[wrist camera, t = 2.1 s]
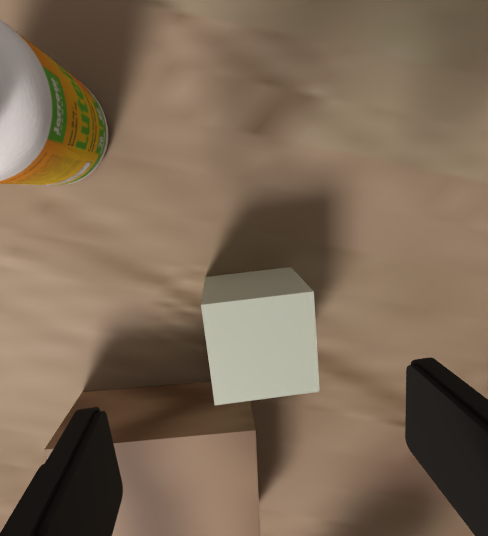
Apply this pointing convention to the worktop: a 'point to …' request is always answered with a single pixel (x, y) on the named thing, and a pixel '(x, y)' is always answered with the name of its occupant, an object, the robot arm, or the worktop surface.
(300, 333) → the sage block
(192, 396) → the walnut block
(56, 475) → the robot arm
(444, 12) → the worktop surface
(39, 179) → the supplement bottle
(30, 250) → the worktop surface
